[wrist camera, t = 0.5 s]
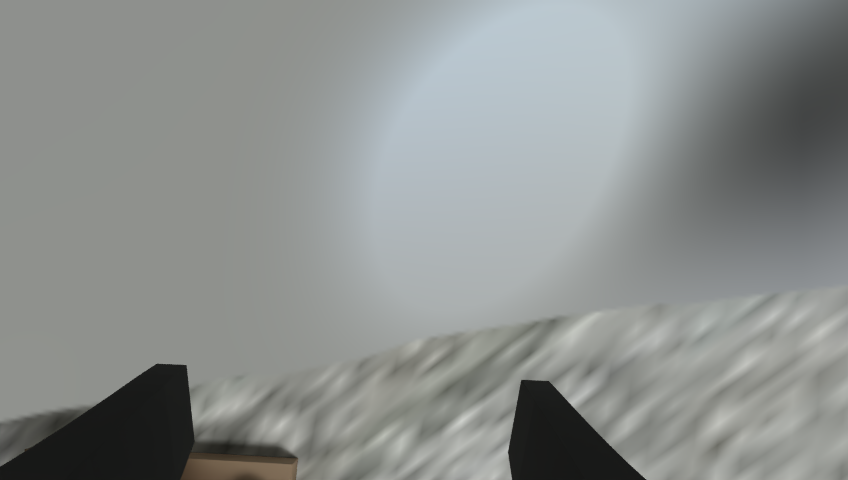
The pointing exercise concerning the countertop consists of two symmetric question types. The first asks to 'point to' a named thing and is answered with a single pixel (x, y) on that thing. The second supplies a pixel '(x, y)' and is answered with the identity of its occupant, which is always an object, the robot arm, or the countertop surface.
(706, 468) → the countertop surface
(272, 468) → the levelling stand
